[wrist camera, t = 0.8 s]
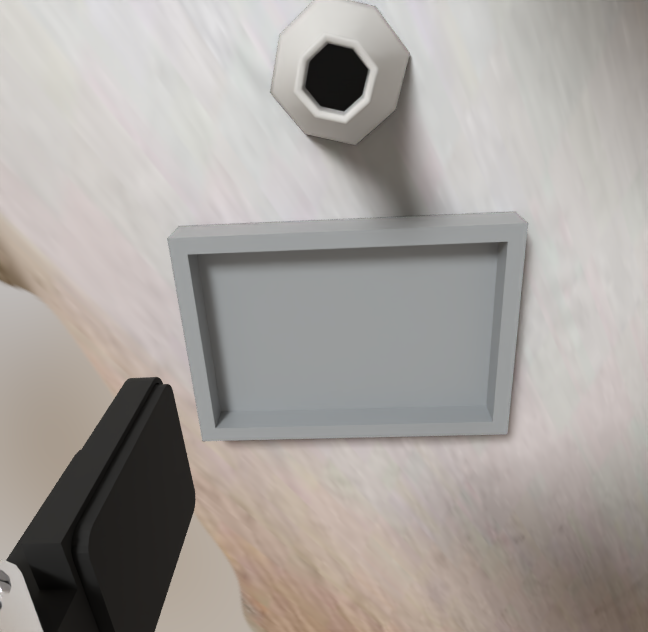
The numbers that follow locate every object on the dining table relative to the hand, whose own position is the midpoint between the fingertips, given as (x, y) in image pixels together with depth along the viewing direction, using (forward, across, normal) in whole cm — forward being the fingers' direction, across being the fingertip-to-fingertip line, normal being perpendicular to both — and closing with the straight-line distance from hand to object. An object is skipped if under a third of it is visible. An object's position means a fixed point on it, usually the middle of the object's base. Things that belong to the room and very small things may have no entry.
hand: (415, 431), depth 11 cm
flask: (+25, +2, -5) cm, 25 cm away
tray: (+24, +2, +10) cm, 26 cm away
